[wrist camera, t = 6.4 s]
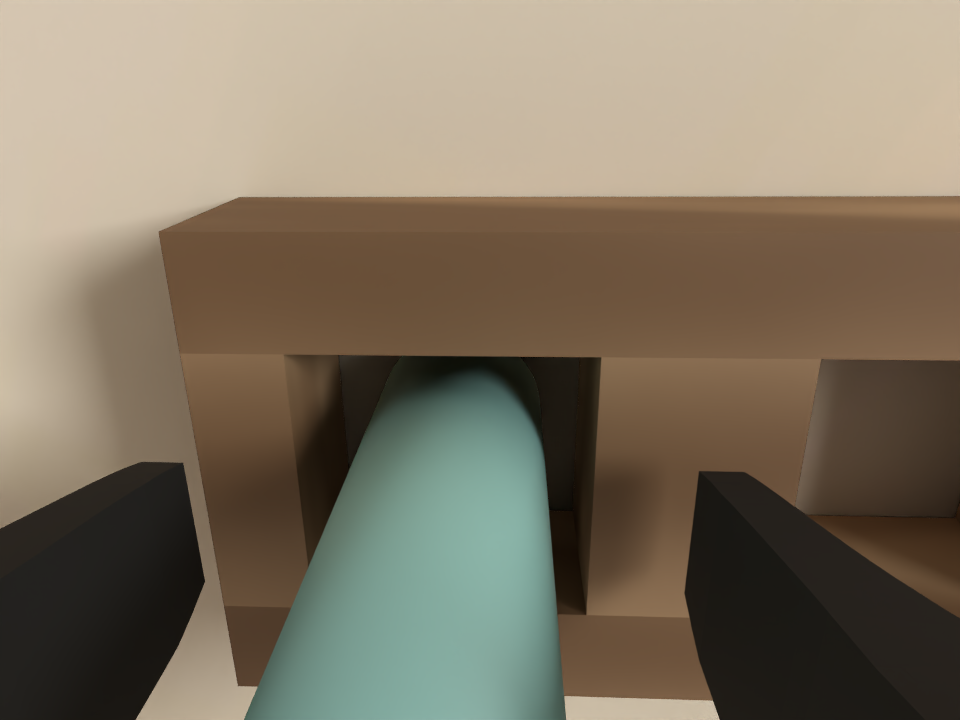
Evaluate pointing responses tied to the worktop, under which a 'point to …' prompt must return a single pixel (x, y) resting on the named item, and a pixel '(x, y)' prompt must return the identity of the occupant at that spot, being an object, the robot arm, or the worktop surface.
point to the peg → (431, 562)
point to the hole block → (557, 333)
